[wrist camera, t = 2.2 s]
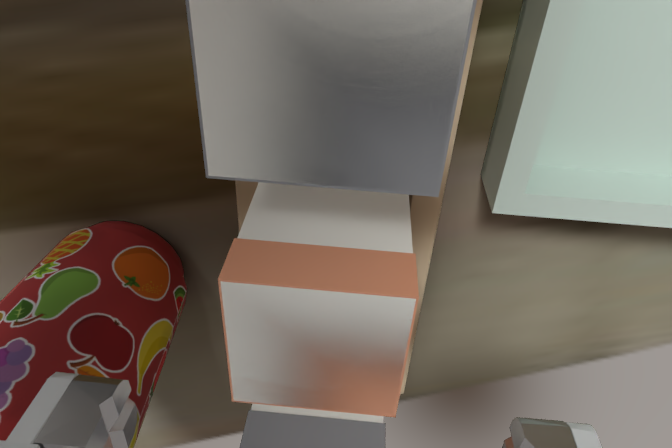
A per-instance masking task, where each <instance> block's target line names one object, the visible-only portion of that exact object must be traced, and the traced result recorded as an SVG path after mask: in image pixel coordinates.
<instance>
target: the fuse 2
mask: <svg viewBox="0 0 672 448" xmlns="http://www.w3.org/2000/svg"><path fill="white" fill-rule="evenodd" d="M240 448H385V423H384V416H375V415H365V414H355V413H345V412H335V411H324V410H314V409H304V408H294V407H283V406H273V405H263V404H253V403H252V407H251V410H249V411H248V415H247V420H246V424H245V428H244V432H243V436H242V440H241V444H240Z"/></svg>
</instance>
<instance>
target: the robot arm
mask: <svg viewBox="0 0 672 448" xmlns="http://www.w3.org/2000/svg"><path fill="white" fill-rule="evenodd" d="M130 392H131V387H130V384H129V381H128V380H124V379H115V378H107V377H98V376H90V375H81V374H73V373H63V372H55V373H54V374H53V375H51V376H50V377H49V378H48V379H47V380H46V382H45V383H44V385H43V386H42V388H41V389H40V391H39V392H38V394H37V395H36V397H35V398H34V400H33V401H32V403H31V404H30V405H29V407H28V408H27V410H26V411H25V413H24V414H23V416H22V417H21V419H20V420H19V422H18V423H17V425H16V426H15V428H14V429H13V431H12V432H11V434H10V435H9V436H8V438H7V439H6V441H3V440H0V448H128V447H129V445H130V443H131V440H132V438H133V436H134V432H135V428H136V424H137V408H136V404H135V403H134V402H133V401H132V400H131V399H130V398H128V396H129V394H130ZM510 431H511V437H510V438H508V439H506V440H505V441H504V444H503V447H502V448H602V445H601V442H600V440H599V437H598V435H597V432H596V430H595V429H594V428H593V427H592V425H589V424H581V423H567V422H563V421H554V420H542V419H530V418H518V417H516V418H515V419H514V420H513V421H512V423H511V426H510Z"/></svg>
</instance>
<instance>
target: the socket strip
mask: <svg viewBox="0 0 672 448" xmlns="http://www.w3.org/2000/svg"><path fill="white" fill-rule="evenodd" d="M482 3H483V0H477V3H476V8H475V13H474V18H473V23H472V28H471V33H470V39H469V44H468V49H467V54H466V59H465V64H464V69H463V74H462V79H461V85H460V90H459V95H458V100H457V105H456V110H455V115H454V120H453V126H452V131H451V136H450V141H449V146H448V151H447V156H446V161H445V166H444V172H443V177H442V182H441V187H440V192H439V197H431V196H419V195H409V203H410V218H411V232H412V247H413V253H414V254H416V265H417V278H418V292H419V300H418V305H417V310H416V315H415V320H414V325H413V330H412V335H411V340H410V346H409V351H408V356H407V361H406V366H405V371H404V376H403V381H402V386H401V392H400V394H404V389H405V384H406V379H407V374H408V369H409V364H410V359H411V354H412V349H413V344H414V339H415V334H416V330H417V325H418V320H419V315H420V310H421V305H422V300H423V295H424V290H425V285H426V280H427V275H428V270H429V265H430V260H431V255H432V250H433V245H434V240H435V235H436V230H437V225H438V221H439V216H440V211H441V206H442V201H443V196H444V191H445V186H446V181H447V176H448V171H449V166H450V161H451V156H452V151H453V146H454V141H455V136H456V131H457V126H458V121H459V116H460V112H461V107H462V102H463V97H464V92H465V87H466V82H467V77H468V72H469V67H470V62H471V57H472V52H473V47H474V42H475V37H476V32H477V27H478V22H479V17H480V12H481V7H482ZM258 183H259V182H249V181H237V180H235V185H236V198H237V211H238V224H239V232H240V230H241V227H242V224H243V222H244V219H245V217H246V214H247V211H248V209H249V206H250V204H251V201H252V199H253V196H254V193H255V191H256V188H257V186H258Z"/></svg>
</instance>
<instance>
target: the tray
mask: <svg viewBox="0 0 672 448" xmlns="http://www.w3.org/2000/svg"><path fill="white" fill-rule="evenodd" d="M481 178H482V181H483V185H484V188H485V191H486V195H487V198H488V201H489V205H490V208H491V211H492V213H496V214H508V215H520V216H532V217H544V218H556V219H568V220H581V221H593V222H605V223H617V224H629V225H641V226H653V227H665V228H672V0H523V4H522V8H521V12H520V16H519V20H518V24H517V28H516V32H515V37H514V41H513V45H512V49H511V53H510V57H509V61H508V65H507V69H506V73H505V77H504V81H503V86H502V90H501V94H500V98H499V102H498V106H497V110H496V114H495V118H494V122H493V126H492V130H491V135H490V139H489V143H488V147H487V151H486V155H485V159H484V163H483V167H482V171H481Z"/></svg>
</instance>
